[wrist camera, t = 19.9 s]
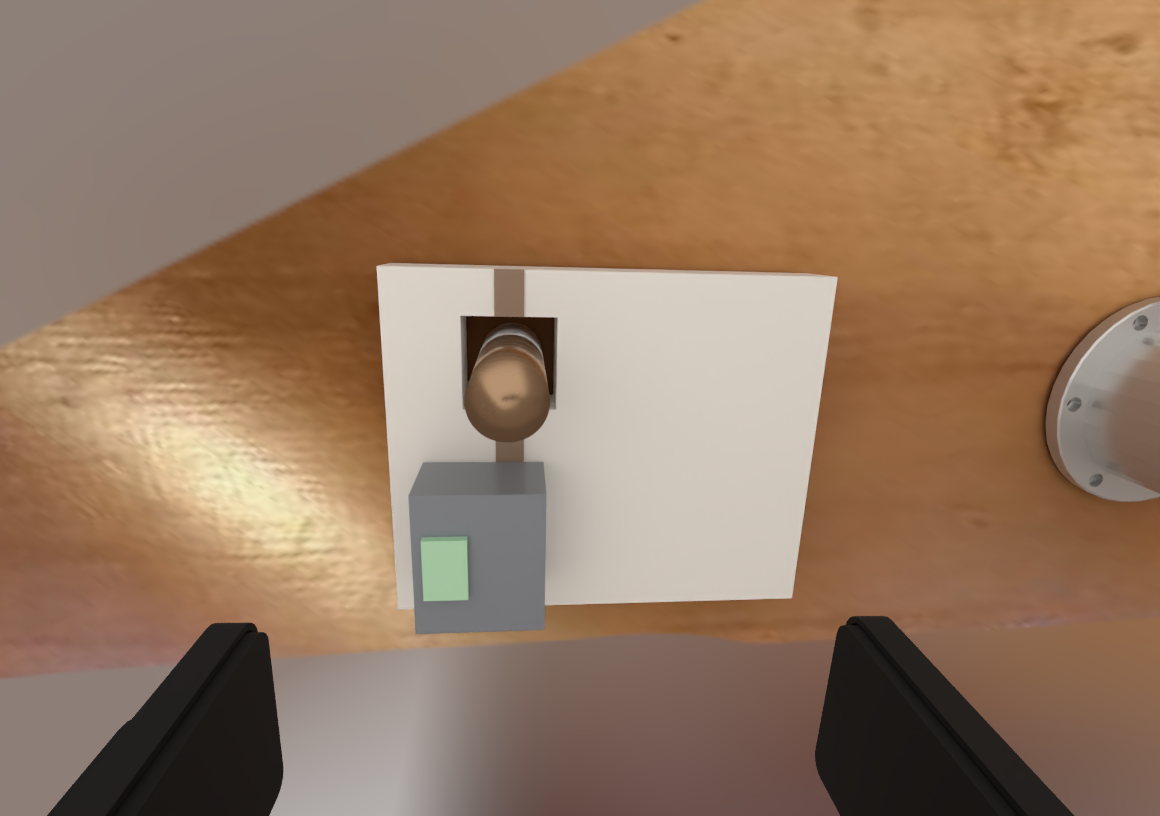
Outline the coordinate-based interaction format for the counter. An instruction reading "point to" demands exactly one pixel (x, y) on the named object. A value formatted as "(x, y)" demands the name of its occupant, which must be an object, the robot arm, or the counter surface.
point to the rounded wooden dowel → (508, 385)
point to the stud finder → (478, 546)
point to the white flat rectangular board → (627, 419)
